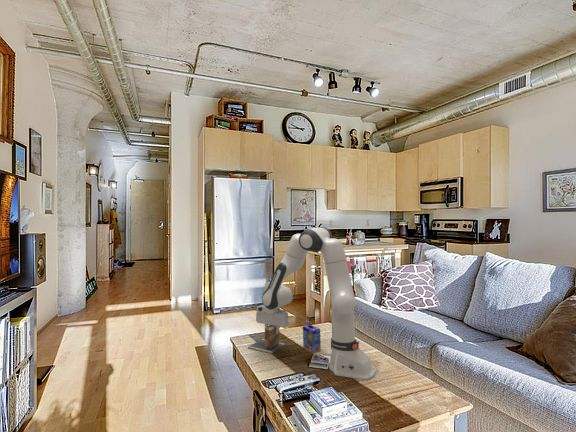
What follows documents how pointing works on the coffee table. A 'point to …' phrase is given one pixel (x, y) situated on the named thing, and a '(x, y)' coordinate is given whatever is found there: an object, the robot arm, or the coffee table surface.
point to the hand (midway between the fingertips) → (272, 332)
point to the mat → (261, 347)
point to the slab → (271, 337)
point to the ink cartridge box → (311, 338)
